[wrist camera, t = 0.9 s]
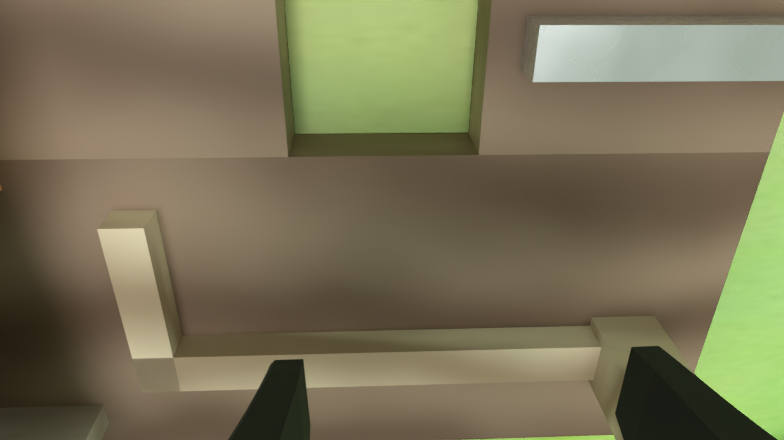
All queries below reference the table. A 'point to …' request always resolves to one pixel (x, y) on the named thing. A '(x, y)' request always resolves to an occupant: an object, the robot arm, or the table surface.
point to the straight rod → (653, 48)
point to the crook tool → (352, 340)
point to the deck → (348, 213)
